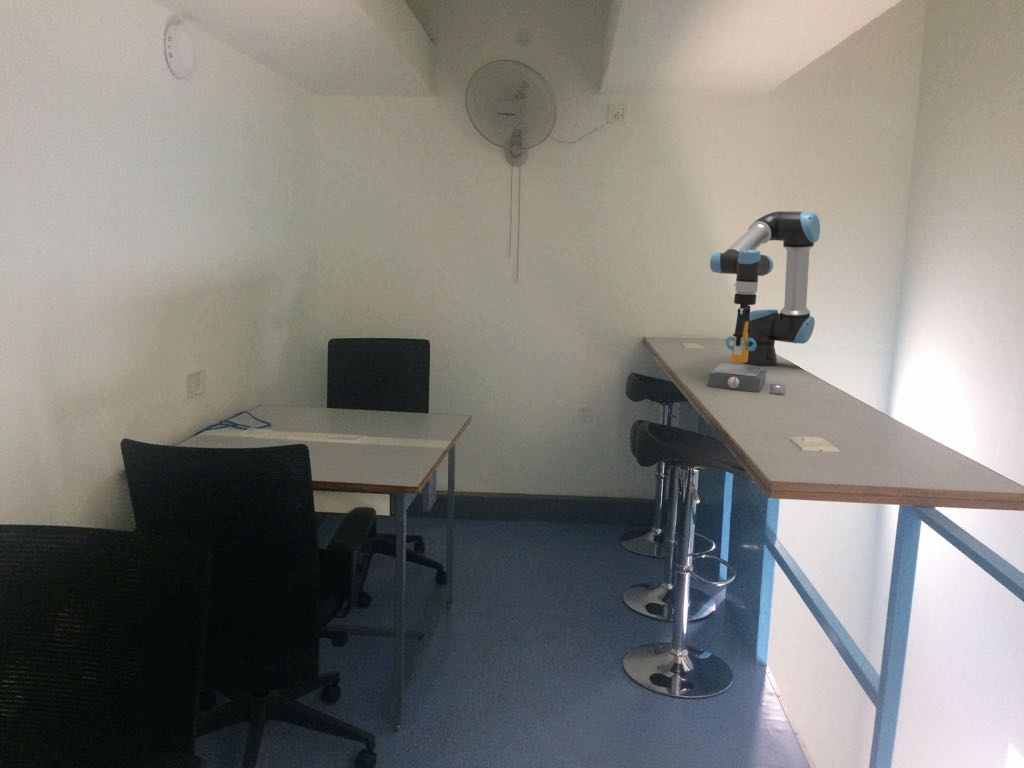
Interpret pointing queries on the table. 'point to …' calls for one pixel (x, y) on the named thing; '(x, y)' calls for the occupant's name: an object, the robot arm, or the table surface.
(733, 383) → the base
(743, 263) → the robot arm
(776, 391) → the cylinder
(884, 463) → the table surface
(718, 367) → the pan
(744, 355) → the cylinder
